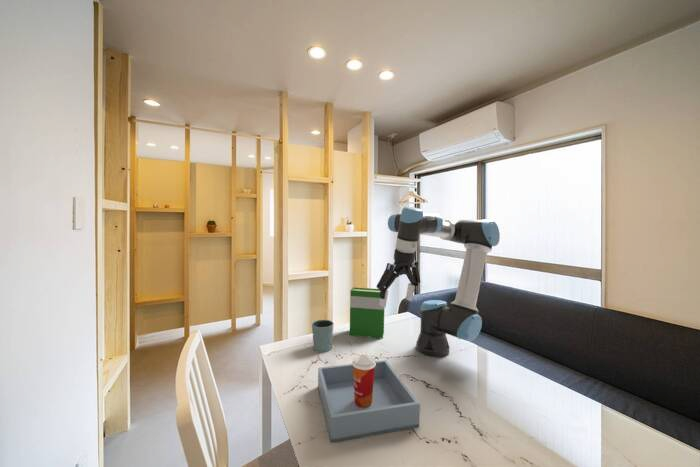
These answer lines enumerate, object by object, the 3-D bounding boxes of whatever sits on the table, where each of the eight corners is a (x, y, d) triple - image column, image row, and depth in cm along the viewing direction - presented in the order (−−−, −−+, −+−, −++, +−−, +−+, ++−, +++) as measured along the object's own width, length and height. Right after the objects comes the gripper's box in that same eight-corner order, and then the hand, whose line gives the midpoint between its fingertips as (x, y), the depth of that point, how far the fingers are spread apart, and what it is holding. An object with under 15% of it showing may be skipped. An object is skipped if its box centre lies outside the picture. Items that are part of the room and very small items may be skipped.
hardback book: (383, 332, 148) (384, 289, 148) (382, 338, 141) (384, 292, 140) (352, 330, 152) (352, 287, 151) (349, 335, 144) (350, 290, 144)
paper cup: (350, 395, 92) (351, 354, 91) (373, 394, 92) (373, 353, 92) (352, 410, 84) (353, 366, 84) (377, 409, 85) (378, 365, 84)
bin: (385, 378, 104) (386, 360, 104) (419, 427, 79) (419, 403, 79) (318, 386, 98) (318, 367, 97) (330, 443, 73) (331, 417, 72)
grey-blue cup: (337, 347, 130) (337, 322, 129) (324, 355, 121) (324, 329, 121) (320, 342, 135) (320, 318, 135) (306, 349, 127) (307, 324, 126)
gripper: (386, 256, 89) (376, 314, 94) (436, 250, 102) (425, 301, 108) (372, 249, 95) (364, 303, 100) (421, 244, 108) (411, 293, 114)
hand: (396, 302), depth 104 cm, fingers open, 13 cm apart
